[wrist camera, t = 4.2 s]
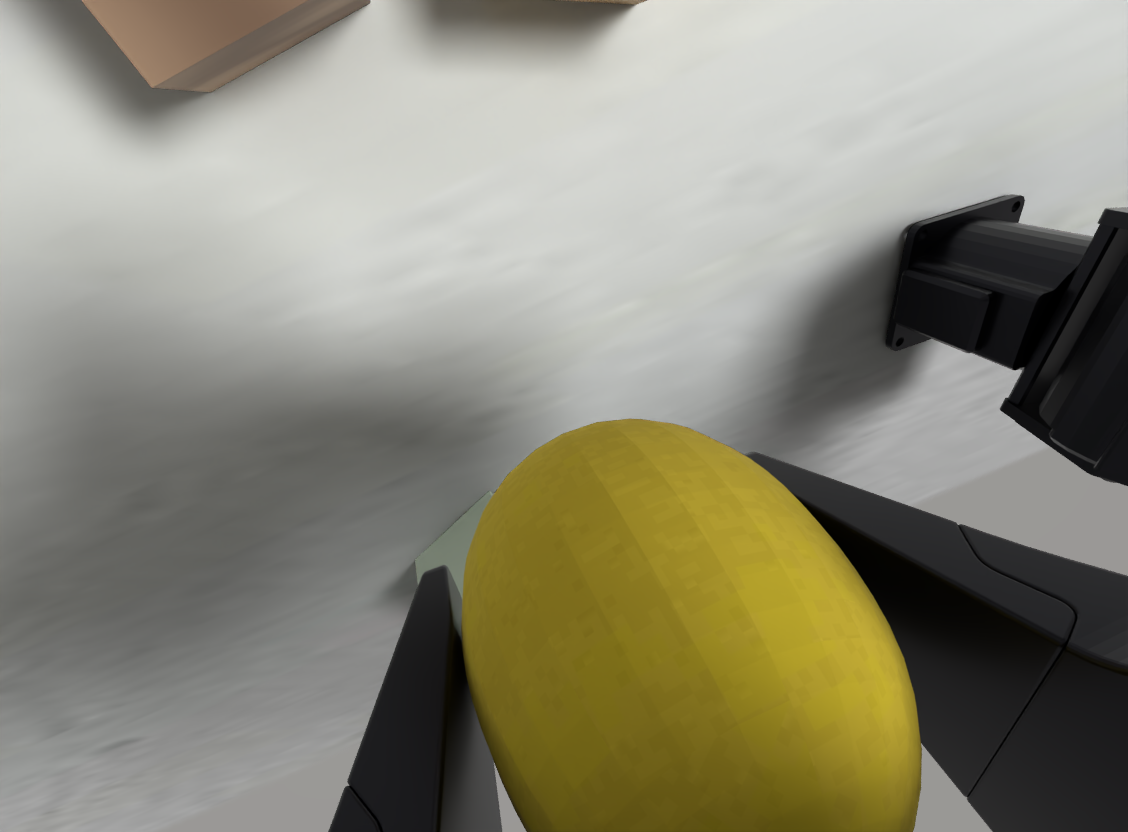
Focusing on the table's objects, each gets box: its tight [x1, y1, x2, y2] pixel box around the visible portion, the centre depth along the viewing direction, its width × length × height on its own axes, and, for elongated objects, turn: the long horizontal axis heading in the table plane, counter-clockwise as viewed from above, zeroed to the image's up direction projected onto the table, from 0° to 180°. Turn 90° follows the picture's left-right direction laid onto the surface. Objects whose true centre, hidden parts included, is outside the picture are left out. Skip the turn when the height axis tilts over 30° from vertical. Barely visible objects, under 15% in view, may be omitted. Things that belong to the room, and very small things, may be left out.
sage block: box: [415, 491, 494, 599], centre depth 24 cm, size 5×5×5 cm
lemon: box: [461, 419, 922, 832], centre depth 8 cm, size 6×6×8 cm
